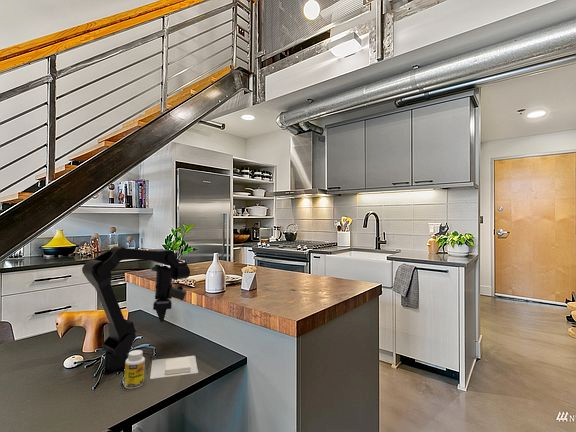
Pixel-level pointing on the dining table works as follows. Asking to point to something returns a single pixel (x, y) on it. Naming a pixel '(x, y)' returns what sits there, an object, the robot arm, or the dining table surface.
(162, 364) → the mat
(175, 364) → the tile
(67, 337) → the dining table surface
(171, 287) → the robot arm
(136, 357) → the supplement bottle
